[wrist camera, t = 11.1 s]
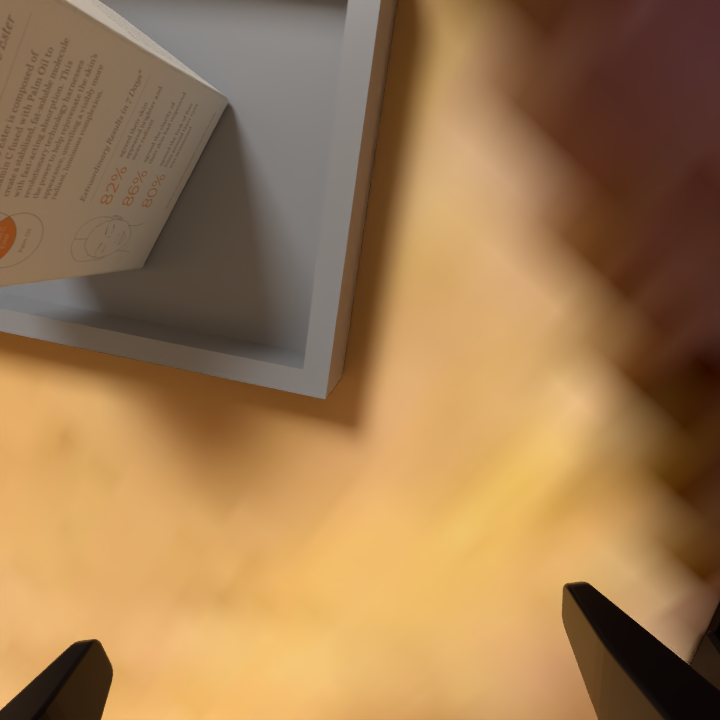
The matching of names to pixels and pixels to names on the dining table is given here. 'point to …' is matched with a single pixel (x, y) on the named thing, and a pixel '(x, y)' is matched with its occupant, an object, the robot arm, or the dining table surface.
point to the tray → (247, 201)
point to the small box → (90, 139)
